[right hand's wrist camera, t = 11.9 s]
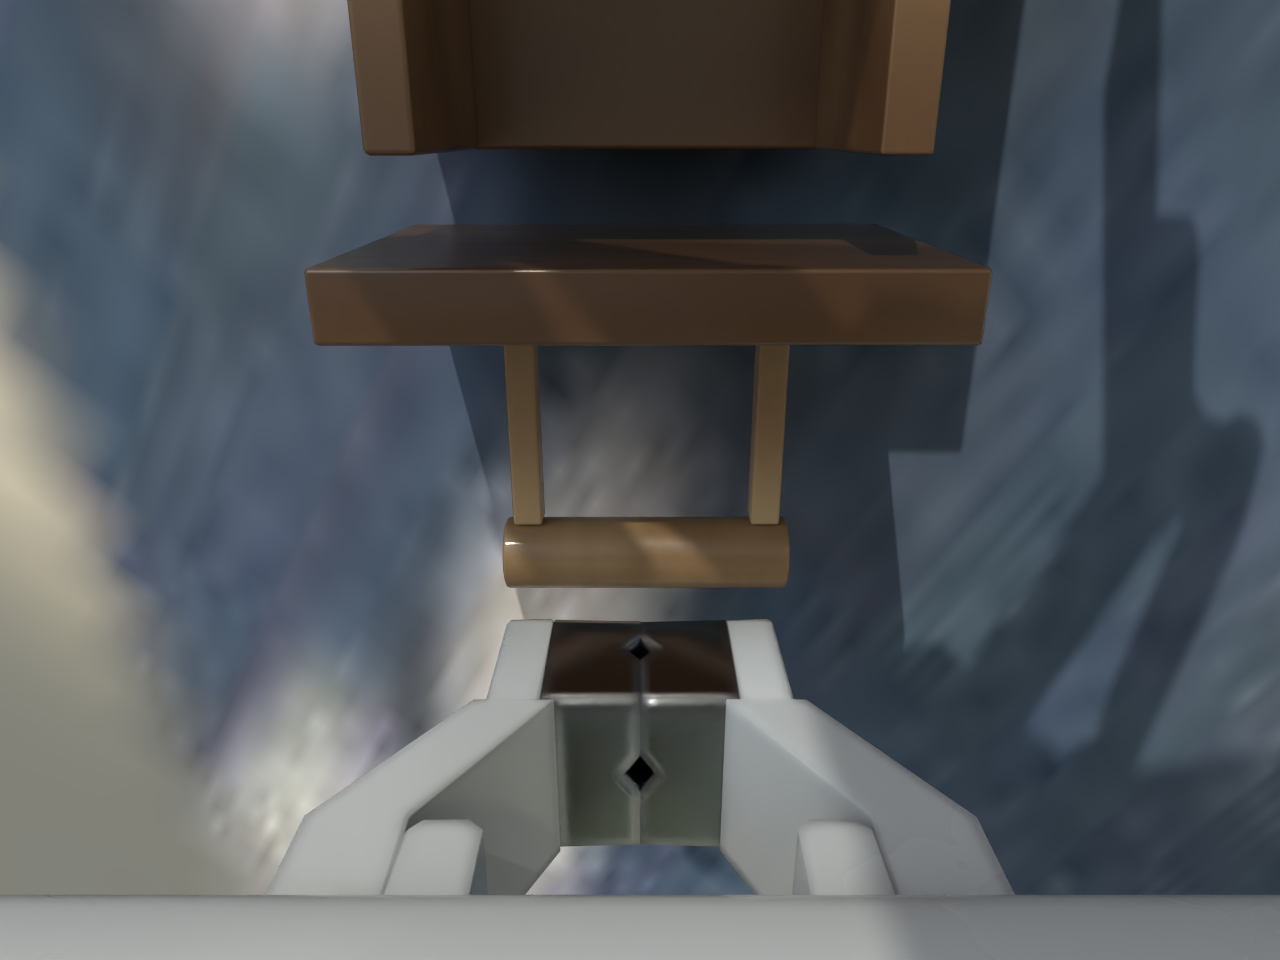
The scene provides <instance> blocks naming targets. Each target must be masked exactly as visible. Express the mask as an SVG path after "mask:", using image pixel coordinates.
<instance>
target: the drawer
mask: <svg viewBox="0 0 1280 960" xmlns="http://www.w3.org/2000/svg"><path fill="white" fill-rule="evenodd" d="M347 2H348V12H349V21H350V30H351V39H352V48H353V58H354V67H355V76H356V85H357V95H358V104H359V113H360V122H361V132H362V141H363V149H364V151H365V153H366V154H368V155H421V154H432V153H442V152H452V151H463V150H473V149H821V150H832V151H843V152H854V153H865V154H877V155H931V154H933V152H934V146H935V137H936V128H937V119H938V111H939V102H940V93H941V84H942V75H943V66H944V58H945V49H946V40H947V31H948V22H949V14H950V5H951V0H347ZM304 274H305V281H306V289H307V296H308V303H309V310H310V318H311V325H312V332H313V339H314V343H315V344H316V345H319V346H492V345H503V347H504V364H505V382H506V399H507V416H508V433H509V450H510V467H511V485H512V502H513V517H510V518H508V519H507V522H506V525H505V530H504V538H503V571H504V578H505V582H506V585H507V586H508V587H510V588H783V587H785V586H786V584H787V581H788V577H789V569H790V540H789V531H788V526H787V523H786V520H785V519H784V518H783V517H779V514H780V498H781V482H782V466H783V450H784V434H785V418H786V402H787V385H788V369H789V353H790V345H979V344H981V343H982V340H983V334H984V327H985V320H986V313H987V306H988V299H989V292H990V285H991V278H992V270H991V269H990V268H988V267H985V266H983V265H980V264H977V263H975V262H972V261H970V260H967V259H964V258H962V257H959V256H957V255H954V254H952V253H949V252H946V251H944V250H941V249H939V248H936V247H933V246H931V245H928V244H926V243H923V242H920V241H918V240H915V239H913V238H910V237H907V236H905V235H902V234H900V233H897V232H895V231H892V230H889V229H887V228H884V227H882V226H879V225H876V224H700V225H414V226H411V227H409V228H406V229H404V230H401V231H399V232H396V233H394V234H392V235H389V236H387V237H384V238H382V239H379V240H377V241H374V242H372V243H369V244H367V245H364V246H362V247H359V248H357V249H354V250H352V251H350V252H347V253H345V254H342V255H340V256H337V257H335V258H332V259H330V260H327V261H325V262H322V263H320V264H317V265H315V266H313V267H310V268H308V269H306V270H305V273H304ZM537 345H756V348H755V369H754V390H753V411H752V432H751V453H750V474H749V495H748V515H749V517H544V514H545V505H544V482H543V459H542V437H541V414H540V391H539V368H538V346H537Z"/></svg>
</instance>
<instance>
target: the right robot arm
mask: <svg viewBox="0 0 1280 960" xmlns="http://www.w3.org/2000/svg"><path fill="white" fill-rule="evenodd" d="M630 844H648V845H684V846H720V851H721V852H722V853H723V855H724V856H725V857H726V858H727V860H728V861H729V862H730V863H731V865H732V866H733V867H734V868H735V870H736V871H737V872H738V873H739V875H740V876H741V877H742V878H743V880H744V881H745V882H746V883H747V885H748V886H749V887H750V888H751V890H752V891H753V892H754V893H755V895H525V894H526V893H527V892H528V890H529V889H530V888H531V887H532V885H533V884H534V883H535V882H536V880H537V879H538V878H539V877H540V875H541V874H542V873H543V872H544V870H545V869H546V868H547V867H548V865H549V864H550V863H551V862H552V860H553V859H554V858H555V857H556V855H557V854H558V853H559V852H560V846H594V845H630ZM0 960H1280V895H1015V894H1014V892H1013V890H1012V888H1011V886H1010V884H1009V882H1008V880H1007V878H1006V876H1005V874H1004V872H1003V870H1002V868H1001V866H1000V864H999V861H998V859H997V857H996V855H995V853H994V851H993V849H992V847H991V845H990V843H989V841H988V839H987V837H986V835H985V833H984V831H983V829H982V827H981V825H980V823H979V821H978V819H977V817H976V816H974V815H973V814H971V813H970V812H968V811H967V810H966V809H964V808H963V807H961V806H960V805H958V804H957V803H955V802H954V801H953V800H951V799H950V798H948V797H947V796H945V795H944V794H942V793H941V792H939V791H938V790H937V789H935V788H934V787H932V786H931V785H929V784H928V783H926V782H925V781H924V780H922V779H921V778H919V777H918V776H916V775H915V774H913V773H912V772H911V771H909V770H908V769H906V768H905V767H903V766H902V765H900V764H899V763H897V762H896V761H895V760H893V759H892V758H890V757H889V756H887V755H886V754H884V753H883V752H882V751H880V750H879V749H877V748H876V747H874V746H873V745H871V744H870V743H868V742H867V741H866V740H864V739H863V738H861V737H860V736H858V735H857V734H855V733H854V732H853V731H851V730H850V729H848V728H847V727H845V726H844V725H842V724H841V723H839V722H838V721H837V720H835V719H834V718H832V717H831V716H829V715H828V714H826V713H825V712H824V711H822V710H821V709H819V708H818V707H816V706H815V705H813V704H812V703H810V702H809V701H808V700H803V699H793V695H792V692H791V688H790V684H789V681H788V677H787V674H786V670H785V666H784V663H783V659H782V656H781V652H780V649H779V645H778V641H777V638H776V634H775V631H774V627H773V623H772V622H771V621H770V620H768V619H753V620H730V621H726V620H713V621H672V622H637V621H584V620H555V622H554V621H553V620H552V619H535V620H511V621H510V622H509V623H508V624H507V626H506V630H505V633H504V637H503V641H502V644H501V648H500V651H499V655H498V659H497V662H496V666H495V670H494V673H493V677H492V681H491V684H490V688H489V691H488V695H487V699H477V700H472V701H471V702H470V703H468V704H467V705H465V706H464V707H462V708H461V709H459V710H458V711H456V712H455V713H454V714H452V715H451V716H449V717H448V718H446V719H445V720H443V721H442V722H440V723H439V724H438V725H436V726H435V727H433V728H432V729H430V730H429V731H427V732H426V733H424V734H423V735H422V736H420V737H419V738H417V739H416V740H414V741H413V742H411V743H410V744H408V745H407V746H405V747H404V748H403V749H401V750H400V751H398V752H397V753H395V754H394V755H392V756H391V757H389V758H388V759H387V760H385V761H384V762H382V763H381V764H379V765H378V766H376V767H375V768H373V769H372V770H371V771H369V772H368V773H366V774H365V775H363V776H362V777H360V778H359V779H357V780H356V781H355V782H353V783H352V784H350V785H349V786H347V787H346V788H344V789H343V790H341V791H340V792H338V793H337V794H336V795H334V796H333V797H331V798H330V799H328V800H327V801H325V802H324V803H322V804H321V805H320V806H318V807H317V808H315V809H314V810H312V811H311V812H309V813H308V814H306V815H305V816H304V818H303V820H302V822H301V824H300V826H299V828H298V830H297V832H296V834H295V836H294V838H293V840H292V842H291V844H290V846H289V848H288V850H287V852H286V854H285V856H284V858H283V860H282V862H281V864H280V866H279V868H278V870H277V872H276V874H275V876H274V878H273V880H272V882H271V884H270V886H269V888H268V890H267V892H266V894H265V895H0Z"/></svg>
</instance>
